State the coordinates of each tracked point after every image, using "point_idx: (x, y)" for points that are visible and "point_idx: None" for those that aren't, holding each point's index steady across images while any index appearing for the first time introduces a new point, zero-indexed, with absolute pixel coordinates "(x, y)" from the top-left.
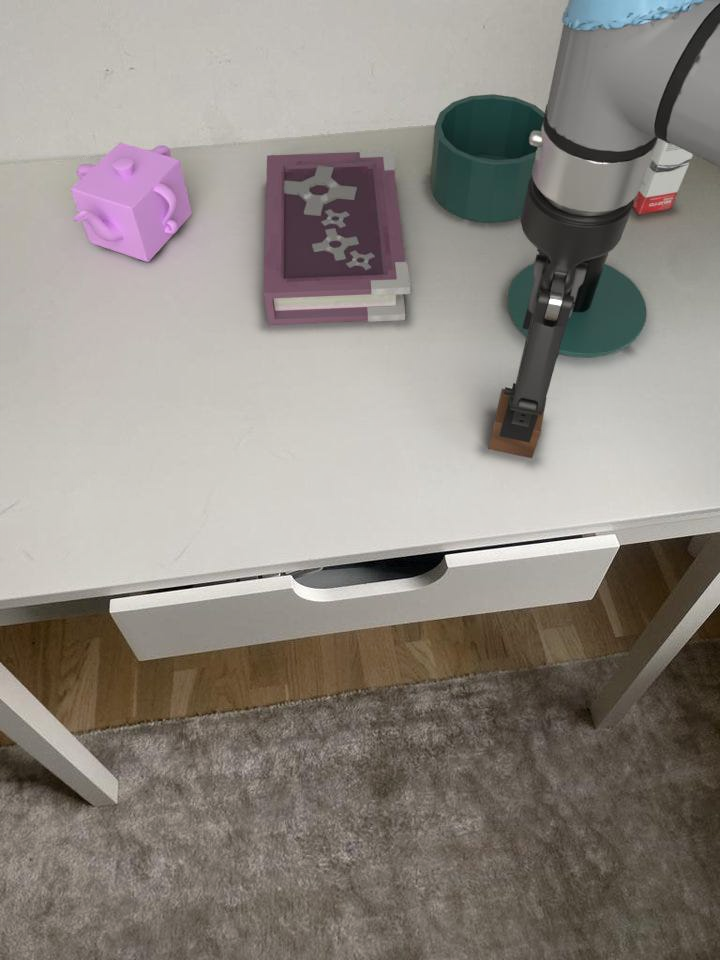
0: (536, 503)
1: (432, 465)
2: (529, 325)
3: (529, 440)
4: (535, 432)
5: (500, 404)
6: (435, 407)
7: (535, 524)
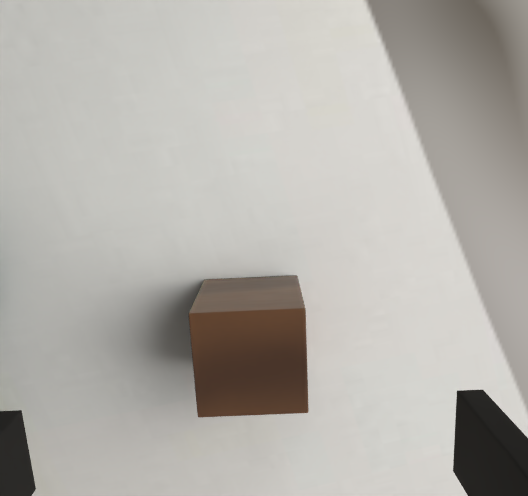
0: (405, 245)
1: (367, 446)
2: (23, 486)
3: (487, 397)
4: (305, 317)
5: (250, 411)
6: (229, 472)
7: (456, 238)
